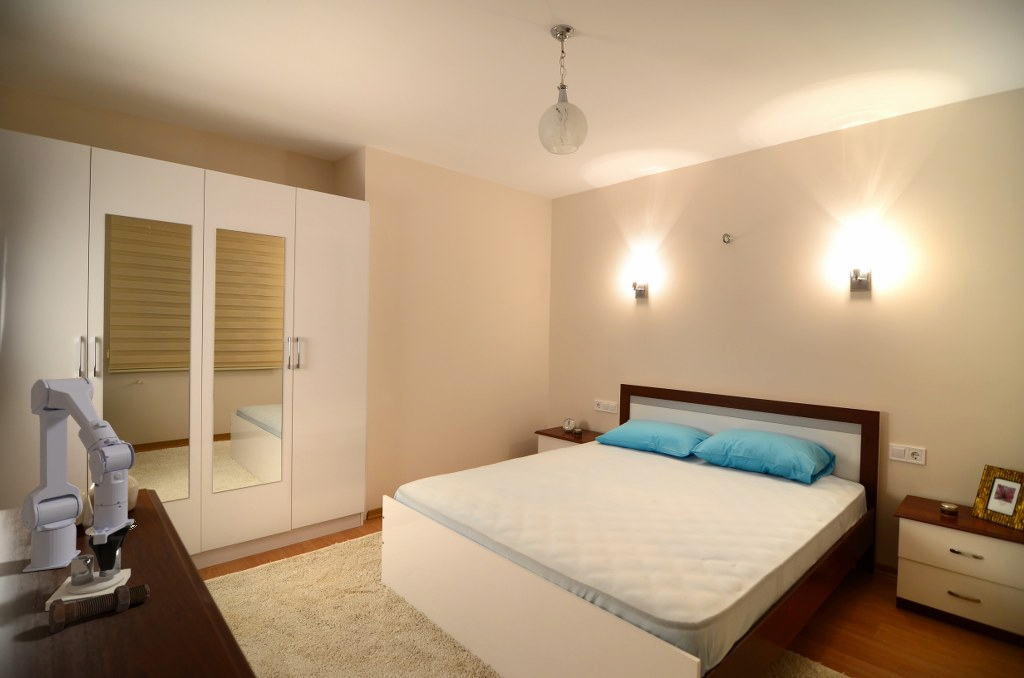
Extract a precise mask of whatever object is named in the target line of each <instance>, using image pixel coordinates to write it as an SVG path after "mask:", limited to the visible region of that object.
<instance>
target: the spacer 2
mask: <svg viewBox="0 0 1024 678" xmlns="http://www.w3.org/2000/svg"><path fill="white" fill-rule="evenodd" d="M121 557H122V553H121V547H118V550H117V555H116V561H115V565H114V568H113V570H107V571H100V568H99V567H98V571H99V576H100V577H109V576H113V575H116V574H118V573H119V572H120V570H121V560H122V558H121Z"/></svg>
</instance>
